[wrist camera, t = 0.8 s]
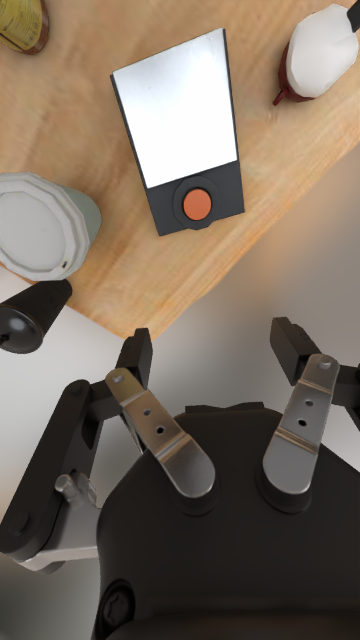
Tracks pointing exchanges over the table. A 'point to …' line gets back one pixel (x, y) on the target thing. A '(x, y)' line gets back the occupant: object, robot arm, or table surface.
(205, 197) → the power button
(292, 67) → the cocoa
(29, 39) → the sauce bottle
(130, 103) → the weighing plate
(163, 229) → the scale
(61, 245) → the disposable coffee cup
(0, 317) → the drinking cup
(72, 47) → the table surface
